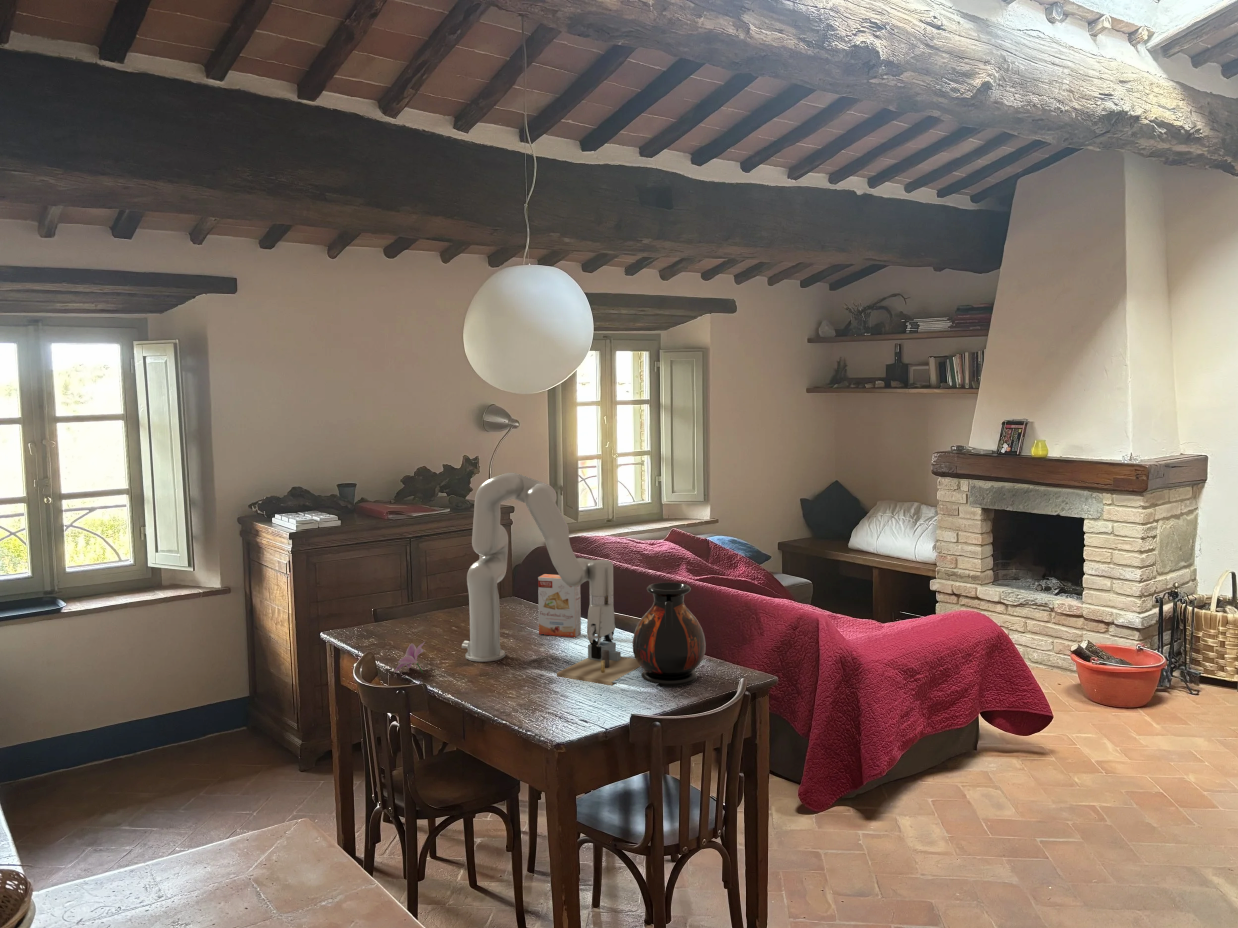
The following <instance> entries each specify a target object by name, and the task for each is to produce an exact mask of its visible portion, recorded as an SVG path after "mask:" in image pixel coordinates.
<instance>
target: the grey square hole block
mask: <svg viewBox="0 0 1238 928" xmlns="http://www.w3.org/2000/svg"><path fill="white" fill-rule="evenodd" d="M616 645H617V644H616V642H613V641H612V642H607V641H603V640H601V641H600V646H601V659H595V658H592V657H591V645H590V643H589V644H588V645H587V658H588V659H591V660H598V661H601V660H602V650H609V660H613V661H619V660H621V657H622V652H621V651H617V647H616Z"/></svg>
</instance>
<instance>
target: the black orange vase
mask: <svg viewBox="0 0 1238 928" xmlns="http://www.w3.org/2000/svg"><path fill="white" fill-rule="evenodd" d="M691 589H692V588H691V587H690V585H688V584H686V583H679V582H656V583H652V584H649V585H648V586H647V587H646V590H647V592H648V593H649V594H652V596H653V603H652V605H651V607H650V608H649V609H648V611H646V613H645V614H643V615H642V617H641V619H640V620H639V621H638V623H637V625H636V627H635V630H634V633H633V637H632V653H633V656H634V659H636V661H637V662H638V664H639V665H640V668H642V669H643V670H642V672H641V673H640V676H641V679H643V680H644V681H646V682H649V683H652V684H655V685H656V686H657V687H661V688H663V687H664V688H676V686H678V687H683V685H684V686H688V685H690V684H693V683H694V682H695V681H696V680H697V678H698V674H697V672H696V671H695V670H696V669H697V668H698V667H699V666H700V665H701V663H702V661H703V660H704V657H705V654H706V646H707V645H706V644H707V643H706V637H705V633H704V630H703V628H702V626H701V623H700V621H699V620H698V619H697V617H696V616H695V615H694V614H693V613H692V611H690V609H689V608H688V607H687V606H686V604H685V601H684V600H685V595H686V594H688V593H690V592H691ZM687 684H688V685H687Z"/></svg>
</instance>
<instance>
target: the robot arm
mask: <svg viewBox="0 0 1238 928" xmlns="http://www.w3.org/2000/svg"><path fill="white" fill-rule="evenodd" d="M474 497H475V498H474V504H473V505H474V509H473V510H474V511H473V520H472V521H473V522H472V523H473V524H472V534H471V535H472V536H471V546H472V549H473V551H474V552H475V553H476V554H478V555H479V559H478V560H477V561H475V562H473V563H472V565H470V567H469V569H468V571H467V573H466V585H467V591H468V600H469V601H468V603H469V604H468V605H469V606H468V607H469V608H468V609H469V610H468V611H469V640H464V641H463V642H462V644H461V648H462V649H467V652H465V659H467V660H468V661H471V662H477V663H478V662H479V663H484V662H485V663H486V662H487V663H488V662H494V661H498V660H502V659H503V658H504V657H506V652H505V651H504V650H503V649H501V632H500V631H501V628H500V627H501V626H500V625H501V624H500V620H501V619H500V595H499V590H498V583H500V582H501V581H503V579H504V578H505V576H506V574H507V573H506V572H507V569H508V555H509V554H508V551H509V535H508V532H507V529H506V528H505V527H504V526H503V525H502V524H501V517H502V516H501V512H502V511H501V504H503V503H504V502H507V501H508V502H509V501H511V500H516V501H518V502H521V503H524V504H525V506H526V507H527V510H528V511H529V513H530V515H531V517H532V518H533V521H534V523H535V524H536V526H537V528H538V530H539V531H540V533H541V535H542V537H543V539H544V543H545V546H546V549H547V552H548V554H549V555H548V556H549V558H550V560H551V563H552V565H553V566H554V568H555V570H556V572H557V573H558V574H557V575H559V576H560V577H561V579H562V580H563V582H564V583H565V584H567V585H568V586H571V587H576V586H579V585H580V586H581V585H582V584H583V583H585V582H587V581H588V582H589V606H588V612H587V622H586V634H587V637H586V638H587V640H588V641H589V644H590V645H591V657H592V658H595V659H601V646H600V641H607V642H613V640H614V634H615V630H616V627H617V626H616V625H615V622H616V621H615V609H614V564H613V562H612V561H610V560H608V559H596V560H595V559H588V558H583V557H577V556H576V555H575V553H574V550H573V548H572V546H571V542H570V531H569V530H570V529H569V525H568V523H567V522H566V519H565V517H564V516H563V514H562V512H561V510H560V508H559V506H558V505H557V503H556V502H557V497H558V495H557V492H556V490H555V489H554V487H553V486H551V485H550V484H547V483H545V482H542V481H539V480H536V479H533V478H531V477H528V476H527V475H526V476H525V475H523V474H521V473H517V472H506V473H503V474H500V475H496V476H494V477H491V478H489V479H487V480H485V481H484V482H483V483H481V484H480V486H479V487H478V489H477V490H476V493H475V496H474ZM602 638H603V640H602Z"/></svg>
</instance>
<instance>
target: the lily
mask: <svg viewBox="0 0 1238 928" xmlns="http://www.w3.org/2000/svg"><path fill="white" fill-rule="evenodd" d="M425 643H426V641H423V642H422V643H420V644H419V645H418V646H417V647H416V645H415V644H414V643H412V642H411V643H410V644H409V645H408V647H407V649H406V651H405V656H403V657H402V658H401V659H399V660H398V661H397V663H398V665H397V666H396V667H395V669H394V671H393V673H394V672H395V673H396V671H397V672H398V671H399V670H400V669H402V668H403V667H404V666H406V667H407V668H408V669H410V668H411V667H412V665H413V664H416V665H417V667H418V668H419V670H420V672H421V674H422V673H423V674H424V672H423V670H422V668H421V667H420V664H419V663H418V656H419V655H421V654H422V653H424V651H425V649H423V648H422V647H423V646H424V644H425Z"/></svg>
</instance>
